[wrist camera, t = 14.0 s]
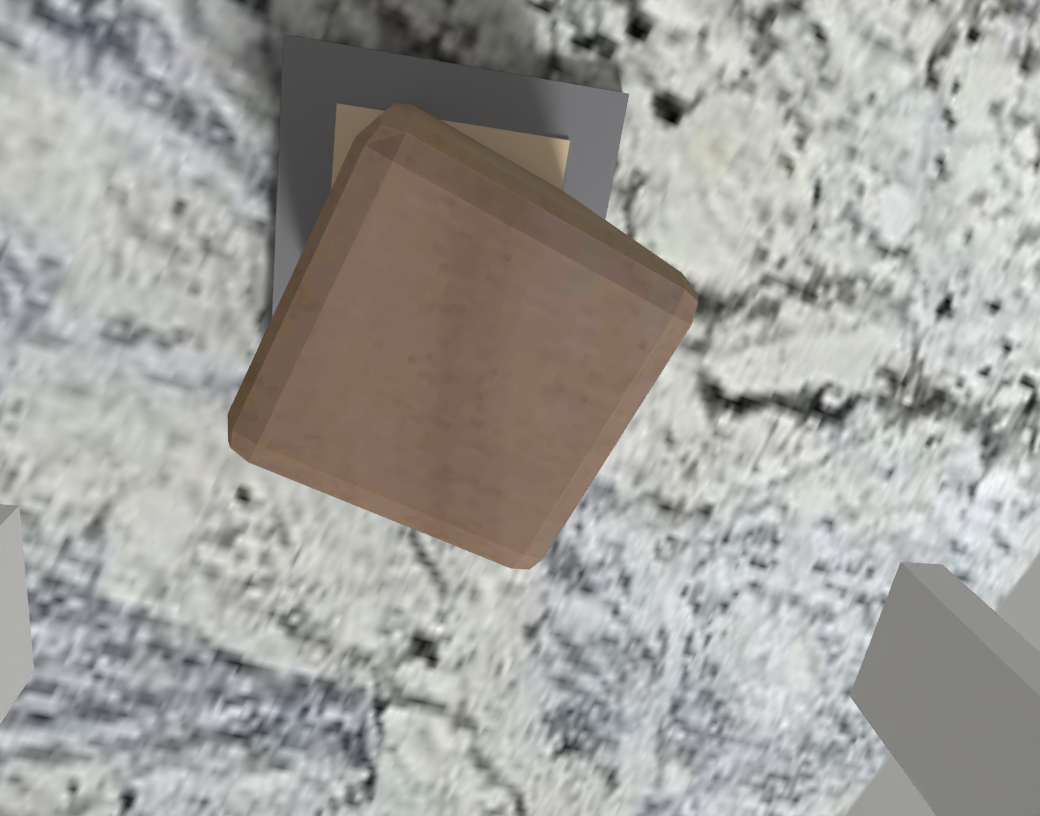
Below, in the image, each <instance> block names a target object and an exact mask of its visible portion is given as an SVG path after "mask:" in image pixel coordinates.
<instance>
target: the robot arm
mask: <svg viewBox="0 0 1040 816" xmlns="http://www.w3.org/2000/svg"><path fill="white" fill-rule="evenodd" d="M33 673H34V664H33V653H32V642H31V631H30V620H29V609H28V598H27V587H26V576H25V565H24V554H23V543H22V532H21V521H20V509H19V506H16V505H0V723H1V722H2V720H3V719H4V717H5V716H6V714H7V713H8V711H9V710H10V708H11V707H12V705H13V703H14V702H15V700H16V699H17V697H18V696H19V694H20V693H21V691H22V690H23V688H24V686H25V685H26V683H27V682H28V680H29V679H30V677H31V676H32V674H33ZM850 697H851V698H852V700H853V701H854V703H855V704H856V705H857V707H858V708H859V710H860V711H861V712H862V714H863V715H864V716H865V718H866V719H867V721H868V722H869V723H870V725H871V726H872V727H873V729H874V730H875V732H876V733H877V734H878V736H879V737H880V739H881V740H882V741H883V743H884V744H885V745H886V747H887V748H888V750H889V751H890V752H891V754H892V755H893V757H894V758H895V759H896V761H897V762H898V763H899V765H900V766H901V768H902V769H903V770H904V772H905V773H906V774H907V776H908V777H909V779H910V780H911V781H912V783H913V784H914V786H915V787H916V788H917V790H918V791H919V793H920V794H921V795H922V796H923V798H924V799H925V801H926V802H927V804H928V805H929V806H930V808H931V809H932V811H933V812H934V813H935V815H936V816H1040V652H1039V651H1038V650H1037V649H1036V648H1035V647H1034V646H1033V645H1031V644H1030V643H1029V642H1028V641H1027V640H1026V639H1025V638H1024V637H1023V636H1021V635H1020V634H1019V633H1018V632H1017V631H1016V630H1015V629H1014V628H1013V627H1011V626H1010V625H1009V624H1008V623H1007V622H1006V621H1005V620H1003V619H1002V618H1001V617H1000V616H999V615H998V614H997V613H996V612H995V611H994V610H992V609H991V608H990V607H989V606H988V605H987V604H986V603H985V602H984V601H982V600H981V599H980V598H979V597H978V596H977V595H976V594H975V593H973V592H972V591H971V590H970V589H969V588H968V587H967V586H966V585H965V584H963V583H962V582H961V581H960V580H959V579H958V578H957V577H956V576H954V575H953V574H952V573H951V572H950V571H949V570H948V569H947V568H946V567H944V566H943V565H940V564H924V563H909V562H900V565H899V568H898V570H897V573H896V576H895V578H894V581H893V583H892V586H891V589H890V591H889V594H888V597H887V599H886V602H885V605H884V607H883V610H882V612H881V615H880V618H879V620H878V623H877V626H876V628H875V631H874V634H873V636H872V639H871V641H870V644H869V647H868V649H867V652H866V655H865V657H864V660H863V663H862V665H861V668H860V670H859V673H858V676H857V678H856V681H855V684H854V686H853V689H852V692H851V694H850Z"/></svg>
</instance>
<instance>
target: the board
mask: <svg viewBox="0 0 1040 816" xmlns="http://www.w3.org/2000/svg"><path fill="white" fill-rule="evenodd" d="M628 97H629V94H628V93H622V92H616V91H610V90H604V89H599V88H593V87H587V86H581V85H575V84H569V83H564V82H558V81H552V80H546V79H540V78H535V77H529V76H523V75H517V74H511V73H506V72H500V71H494V70H488V69H482V68H477V67H471V66H465V65H459V64H453V63H447V62H442V61H436V60H430V59H424V58H418V57H413V56H407V55H401V54H395V53H389V52H384V51H378V50H372V49H366V48H360V47H354V46H349V45H343V44H337V43H331V42H325V41H320V40H314V39H308V38H302V37H296V36H291V35H285V34H283V55H282V80H281V105H280V130H279V155H278V180H277V205H276V230H275V255H274V280H273V305H272V317H273V315H274V313H275V310H276V308H277V306H278V304H279V302H280V300H281V297H282V295H283V293H284V291H285V289H286V286H287V284H288V282H289V280H290V278H291V276H292V273H293V271H294V269H295V267H296V265H297V263H298V260H299V258H300V256H301V254H302V252H303V250H304V247H305V245H306V243H307V241H308V239H309V236H310V234H311V232H312V230H313V228H314V226H315V223H316V221H317V219H318V217H319V215H320V213H321V210H322V208H323V206H324V204H325V202H326V200H327V197H328V195H329V193H330V191H331V189H332V186H333V184H334V182H335V180H336V178H337V176H338V173H339V171H340V169H341V167H342V165H343V163H344V160H345V158H346V156H347V154H348V152H349V150H350V147H351V145H352V143H353V141H354V139H355V137H356V136H357V135H358V134H359V133H360V132H361V131H362V130H364V129H365V128H366V127H367V126H368V125H369V124H370V123H371V122H373V121H374V120H375V119H376V118H377V117H378V116H379V115H381V114H382V113H383V112H384V111H386V110H387V109H388V108H389V107H391V106H392V105H393V104H394V103H405V104H413V105H415V106H416V107H418V108H420V109H422V110H423V111H425V112H427V113H429V114H430V115H432V116H434V117H435V118H437V119H439V120H441V121H442V122H444V123H446V124H448V125H449V126H451V127H453V128H455V129H456V130H458V131H460V132H462V133H463V134H465V135H467V136H468V137H470V138H472V139H474V140H475V141H477V142H479V143H481V144H482V145H484V146H486V147H488V148H489V149H491V150H493V151H495V152H496V153H498V154H500V155H501V156H503V157H505V158H507V159H508V160H510V161H512V162H514V163H515V164H517V165H519V166H521V167H522V168H524V169H526V170H527V171H529V172H531V173H533V174H534V175H536V176H538V177H540V178H541V179H543V180H545V181H547V182H548V183H550V184H552V185H554V186H555V187H557V188H559V189H560V190H562V191H564V192H565V193H567V194H568V195H570V196H571V197H573V198H574V199H576V200H577V201H578V202H580V203H581V204H583V205H584V206H586V207H587V208H589V209H590V210H591V211H593V212H594V213H596V214H597V215H599V216H600V217H602V218H603V219H604V220H605V218H606V213H607V208H608V202H609V197H610V192H611V187H612V181H613V176H614V171H615V165H616V160H617V155H618V150H619V144H620V139H621V134H622V129H623V123H624V118H625V113H626V108H627V102H628Z"/></svg>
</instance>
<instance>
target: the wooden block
mask: <svg viewBox="0 0 1040 816" xmlns="http://www.w3.org/2000/svg"><path fill="white" fill-rule="evenodd" d="M697 304H698V296H697V293H696V292H695V291H694V289H693V288H692V286H691V285H690V283H689V282H688V281H687V279H686V278H685V276H684V275H683V274H682V273H681V272H680V271H678V270H677V269H675V268H674V267H673V266H671V265H670V264H668V263H667V262H665V261H664V260H662V259H661V258H659V257H658V256H657V255H655V254H654V253H652V252H651V251H649V250H648V249H646V248H645V247H644V246H642V245H641V244H639V243H638V242H636V241H635V240H633V239H632V238H631V237H629V236H628V235H626V234H625V233H623V232H622V231H620V230H619V229H617V228H616V227H615V226H613V225H612V224H610V223H609V222H607V221H606V220H604V219H603V218H602V217H600V216H599V215H597V214H596V213H594V212H593V211H591V210H590V209H589V208H587V207H586V206H584V205H583V204H581V203H580V202H578V201H577V200H576V199H574V198H573V197H571V196H570V195H568V194H567V193H565V192H564V191H562V190H560V189H559V188H557V187H555V186H554V185H552V184H550V183H548V182H547V181H545V180H543V179H541V178H540V177H538V176H536V175H534V174H533V173H531V172H529V171H527V170H526V169H524V168H522V167H521V166H519V165H517V164H515V163H514V162H512V161H510V160H508V159H507V158H505V157H503V156H501V155H500V154H498V153H496V152H495V151H493V150H491V149H489V148H488V147H486V146H484V145H482V144H481V143H479V142H477V141H475V140H474V139H472V138H470V137H468V136H467V135H465V134H463V133H462V132H460V131H458V130H456V129H455V128H453V127H451V126H449V125H448V124H446V123H444V122H442V121H441V120H439V119H437V118H435V117H434V116H432V115H430V114H429V113H427V112H425V111H423V110H422V109H420V108H418V107H416V106H415V105H413V104H405V103H394V104H393V105H392V106H391V107H389V108H388V109H387V110H386V111H384V112H383V113H382V114H381V115H379V116H378V117H377V118H376V119H375V120H374V121H373V122H371V123H370V124H369V125H368V126H367V127H366V128H365V129H364V130H362V131H361V132H360V133H359V134H358V135H357V136H356V137H355V139H354V141H353V143H352V145H351V147H350V150H349V152H348V154H347V156H346V158H345V160H344V163H343V165H342V167H341V169H340V171H339V173H338V176H337V178H336V180H335V182H334V184H333V186H332V189H331V191H330V193H329V195H328V197H327V200H326V202H325V204H324V206H323V208H322V210H321V213H320V215H319V217H318V219H317V221H316V223H315V226H314V228H313V230H312V232H311V234H310V236H309V239H308V241H307V243H306V245H305V247H304V250H303V252H302V254H301V256H300V258H299V260H298V263H297V265H296V267H295V269H294V271H293V273H292V276H291V278H290V280H289V282H288V284H287V286H286V289H285V291H284V293H283V295H282V297H281V300H280V302H279V304H278V306H277V308H276V310H275V313H274V315H273V317H272V319H271V321H270V323H269V326H268V328H267V330H266V332H265V334H264V336H263V339H262V341H261V343H260V345H259V347H258V350H257V352H256V354H255V356H254V358H253V360H252V363H251V365H250V367H249V369H248V371H247V373H246V376H245V378H244V380H243V382H242V384H241V386H240V389H239V391H238V393H237V395H236V397H235V399H234V402H233V404H232V406H231V408H230V410H229V413H228V442H229V445H230V448H231V449H233V450H234V451H235V452H236V453H238V454H239V455H240V456H241V457H243V458H244V459H245V460H246V461H247V462H249V463H252V464H254V465H257V466H259V467H261V468H264V469H266V470H269V471H271V472H274V473H276V474H279V475H281V476H284V477H286V478H289V479H291V480H294V481H296V482H299V483H301V484H304V485H306V486H308V487H311V488H313V489H316V490H318V491H321V492H323V493H326V494H328V495H331V496H333V497H336V498H338V499H341V500H343V501H346V502H348V503H351V504H353V505H356V506H358V507H360V508H363V509H365V510H368V511H370V512H373V513H375V514H378V515H380V516H383V517H385V518H388V519H390V520H393V521H395V522H398V523H400V524H403V525H405V526H407V527H410V528H412V529H415V530H417V531H420V532H422V533H425V534H427V535H430V536H432V537H435V538H437V539H440V540H442V541H445V542H447V543H450V544H452V545H455V546H457V547H459V548H462V549H464V550H467V551H469V552H472V553H474V554H477V555H479V556H482V557H484V558H487V559H489V560H492V561H494V562H497V563H499V564H502V565H504V566H506V567H509V568H514V569H531V568H532V567H533V566H534V565H536V564H537V563H538V562H539V561H541V560H542V559H543V558H544V557H545V555H546V554H547V552H548V550H549V549H550V547H551V546H552V544H553V543H554V541H555V539H556V538H557V536H558V535H559V533H560V531H561V530H562V528H563V527H564V525H565V524H566V522H567V520H568V519H569V517H570V516H571V514H572V513H573V511H574V509H575V508H576V506H577V505H578V503H579V501H580V500H581V498H582V497H583V495H584V494H585V492H586V490H587V489H588V487H589V486H590V484H591V483H592V481H593V479H594V478H595V476H596V475H597V473H598V471H599V470H600V468H601V467H602V465H603V464H604V462H605V460H606V459H607V457H608V456H609V454H610V453H611V451H612V449H613V448H614V446H615V445H616V443H617V441H618V440H619V438H620V437H621V435H622V434H623V432H624V430H625V429H626V427H627V426H628V424H629V423H630V421H631V419H632V418H633V416H634V415H635V413H636V411H637V410H638V408H639V407H640V405H641V404H642V402H643V400H644V399H645V397H646V396H647V394H648V393H649V391H650V389H651V388H652V386H653V385H654V383H655V381H656V380H657V378H658V377H659V375H660V374H661V372H662V370H663V369H664V367H665V366H666V364H667V363H668V361H669V359H670V358H671V356H672V355H673V353H674V351H675V350H676V348H677V347H678V345H679V344H680V342H681V340H682V339H683V337H684V336H685V334H686V333H687V331H688V329H689V328H690V326H691V325H692V322H693V318H694V315H695V311H696V307H697Z"/></svg>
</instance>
